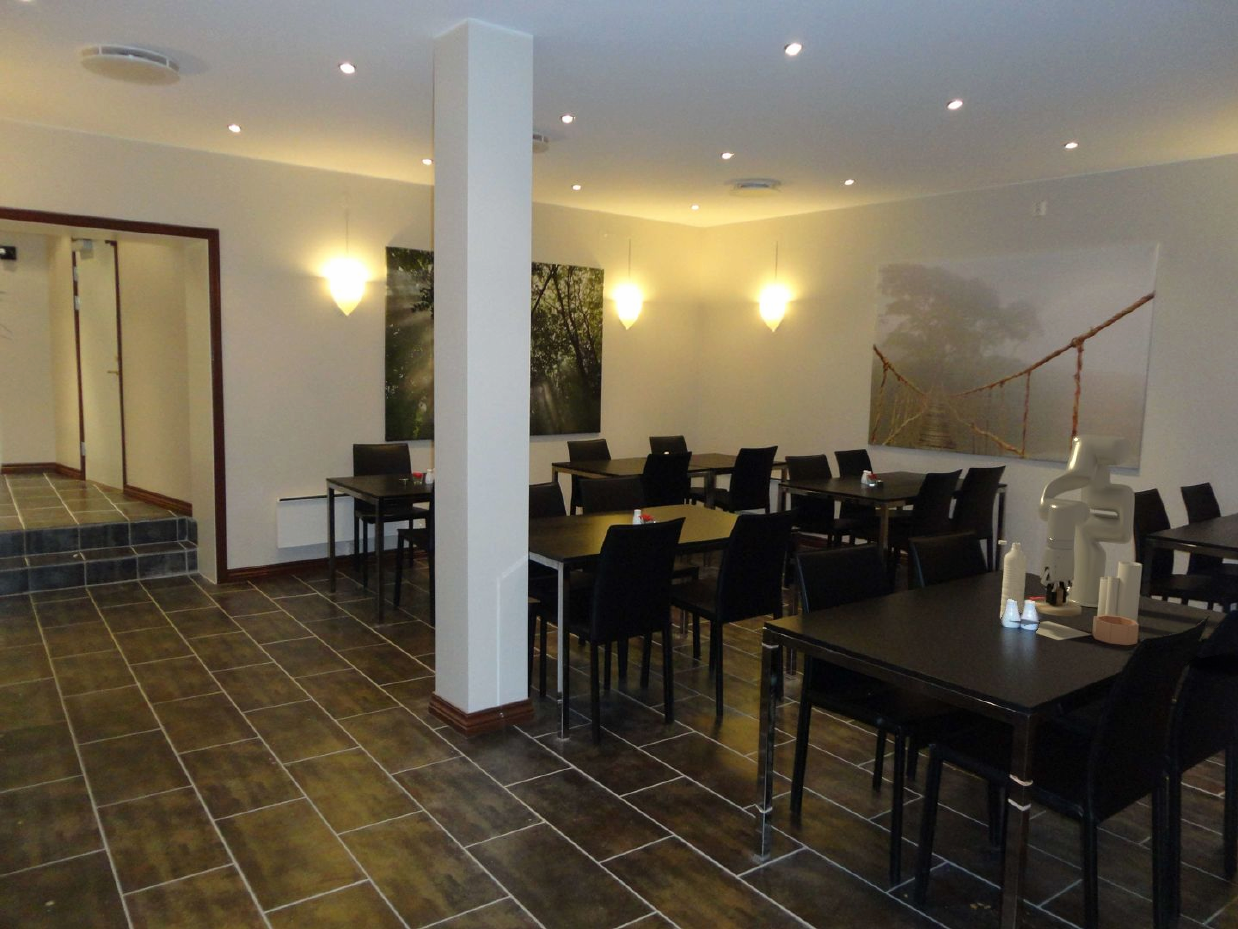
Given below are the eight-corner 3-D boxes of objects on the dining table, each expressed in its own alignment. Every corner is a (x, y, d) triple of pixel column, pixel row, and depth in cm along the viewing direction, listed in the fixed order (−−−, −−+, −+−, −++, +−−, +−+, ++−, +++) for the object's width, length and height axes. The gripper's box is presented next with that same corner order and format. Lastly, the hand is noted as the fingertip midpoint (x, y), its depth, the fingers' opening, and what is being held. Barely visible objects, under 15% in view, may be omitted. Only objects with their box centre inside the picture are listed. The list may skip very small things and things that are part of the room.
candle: (1138, 625, 276) (1144, 563, 274) (1134, 630, 270) (1140, 567, 268) (1098, 618, 283) (1103, 557, 281) (1093, 622, 277) (1098, 561, 275)
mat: (1015, 627, 270) (1015, 626, 270) (1048, 622, 276) (1048, 621, 276) (1058, 641, 256) (1058, 640, 256) (1091, 635, 263) (1091, 634, 263)
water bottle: (1024, 619, 279) (1030, 543, 276) (1018, 624, 274) (1024, 545, 271) (996, 614, 284) (1002, 539, 282) (989, 618, 279) (995, 541, 277)
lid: (1020, 606, 269) (1021, 585, 268) (1050, 600, 276) (1051, 580, 275) (1060, 618, 257) (1062, 597, 256) (1091, 612, 263) (1093, 591, 262)
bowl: (1085, 636, 262) (1086, 617, 261) (1108, 632, 267) (1110, 613, 266) (1119, 647, 252) (1121, 627, 251) (1143, 643, 257) (1145, 623, 256)
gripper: (1067, 539, 271) (1063, 596, 273) (1030, 543, 263) (1026, 602, 266) (1089, 544, 264) (1084, 602, 266) (1052, 549, 257) (1048, 609, 259)
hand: (1055, 602), depth 266 cm, fingers closed on lid, 3 cm apart
